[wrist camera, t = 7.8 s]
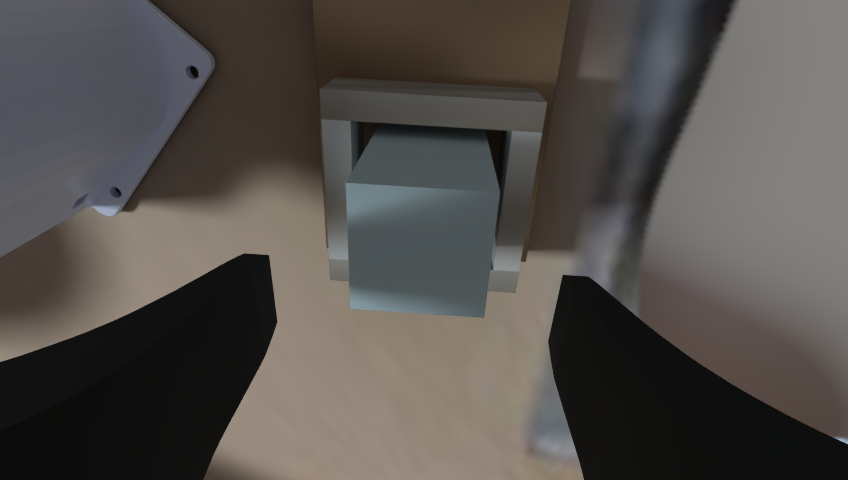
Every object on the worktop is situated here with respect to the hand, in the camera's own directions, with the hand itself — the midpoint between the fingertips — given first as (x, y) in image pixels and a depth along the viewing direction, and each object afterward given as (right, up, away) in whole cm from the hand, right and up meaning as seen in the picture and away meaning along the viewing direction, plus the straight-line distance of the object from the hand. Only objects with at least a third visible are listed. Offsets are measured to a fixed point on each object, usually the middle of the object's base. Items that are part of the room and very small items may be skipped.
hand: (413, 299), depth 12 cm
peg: (+1, +4, +8) cm, 9 cm away
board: (+1, +7, +7) cm, 10 cm away
